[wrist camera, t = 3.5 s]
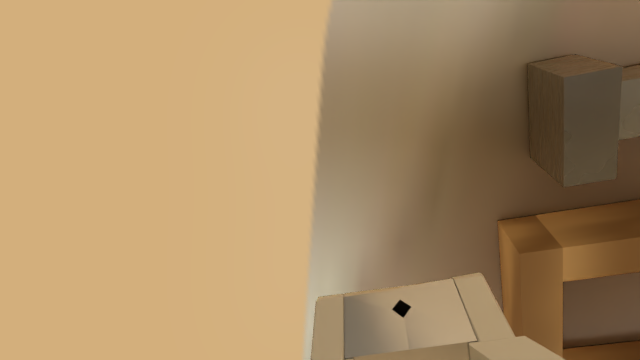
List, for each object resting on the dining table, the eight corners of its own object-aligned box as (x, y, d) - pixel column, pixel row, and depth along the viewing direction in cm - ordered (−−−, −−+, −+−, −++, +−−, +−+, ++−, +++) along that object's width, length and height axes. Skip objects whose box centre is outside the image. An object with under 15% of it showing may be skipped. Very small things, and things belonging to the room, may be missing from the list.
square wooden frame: (736, 184, 17) (799, 214, 14) (707, 357, 20) (753, 404, 18) (497, 220, 18) (519, 254, 16) (507, 377, 21) (526, 423, 19)
